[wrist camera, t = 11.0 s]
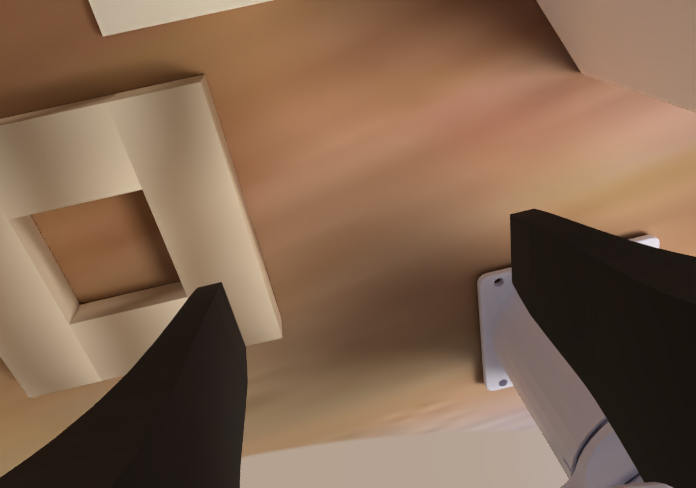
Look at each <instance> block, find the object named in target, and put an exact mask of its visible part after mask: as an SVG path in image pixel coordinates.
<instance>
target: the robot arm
mask: <svg viewBox="0 0 696 488" xmlns="http://www.w3.org/2000/svg"><path fill="white" fill-rule="evenodd" d="M510 228H511V267H510V268H506V269H502V270H497V271H493V272H489V273H485V274H483V275H482V276H480V277H479V279H478V282H477V288H478V303H479V318H480V333H481V348H482V363H483V378H484V385H485V387H486V388H487V389H488V390H490V391H495V390H499V389H503V388H507V387H511V386H514V387H515V389H516V391H517V392H518V394H519V396H520V397H521V399H522V401H523V402H524V404H525V406H526V407H527V409H528V411H529V412H530V414H531V416H532V417H533V419H534V421H535V422H536V424H537V426H538V427H539V429H540V431H541V432H542V434H543V436H544V437H545V439H546V440H547V442H548V444H549V446H550V447H551V449H552V451H553V453H554V454H555V456H556V457H557V459H558V461H559V463H560V464H561V466H562V468H563V469H564V471H565V473H566V474H567V476H568V478H569V480H568V481H567V483H565V484H564V485H563V486H562V487H561V488H696V257H694V256H689V255H685V254H680V253H675V252H671V251H667V250H663V249H659V240H658V238H656V237H655V236H653V235H644V236H640V237H636V238H632V239H628V240H627V239H624V238H621V237H618V236H615V235H612V234H609V233H606V232H603V231H600V230H597V229H594V228H591V227H588V226H585V225H583V224H580V223H577V222H574V221H571V220H569V219H566V218H563V217H560V216H557V215H554V214H551V213H548V212H545V211H541V210H537V209H531V210H527V211H523V212H518V213H514V214H510ZM498 278H501V279H500V281H499V282H497V283H494V281H495V280H496V279H498ZM501 380H502V381H501ZM247 383H248V381H247V360H246V346H245V343H244V340H243V338H242V335H241V332H240V330H239V327H238V324H237V322H236V319H235V316H234V314H233V311H232V308H231V305H230V303H229V300H228V297H227V295H226V292H225V289H224V287H223V284H222V282H219V283H215V284H211V285H206V286H202V287H198V288H196V289H195V291H194V292H193V293H192V294H191V295H190V297H189V298H188V299H187V301H186V302H185V303H184V305H183V306H182V307H181V309H180V310H179V311H178V313H177V314H176V315H175V317H174V318H173V319H172V320H171V322H170V323H169V324H168V326H167V327H166V328H165V329H164V331H163V332H162V333H161V335H160V336H159V337H158V338H157V340H156V341H155V342H154V343H153V344H152V345H151V347H150V348H149V349H148V350H147V351H146V352H145V353H144V355H143V356H142V357H141V358H140V359H139V360H138V362H137V363H136V364H135V365H134V366H133V367H132V368H131V370H130V371H129V372H128V373H127V374H126V375H125V376H124V377H123V378H122V379H121V380H120V381H119V382H118V383H117V384H116V385H115V386H114V387H113V388H112V389H111V390H110V391H109V392H108V393H107V394H106V395H105V396H104V397H103V398H102V399H101V400H99V401H98V402H97V403H96V404H95V405H94V406H93V407H92V408H91V409H89V410H88V411H87V412H86V413H85V414H83V415H82V416H81V417H80V418H79V419H77V420H76V421H75V422H74V423H73V424H71V425H70V426H69V427H68V428H67V429H65V430H64V431H63V432H62V433H61V434H60V435H58V436H57V437H56V438H55V439H53V440H52V441H51V442H49V443H48V444H47V445H45V446H44V447H43V448H41V449H40V450H39V451H37V452H36V453H35V454H33V455H32V456H31V457H29V458H28V459H26V460H25V461H23V462H22V463H21V464H19V465H18V466H16V467H15V468H14V469H12V470H11V471H9V472H8V473H6V474H5V475H3V476H2V477H0V488H240V464H241V453H242V442H243V431H244V420H245V408H246V396H247Z"/></svg>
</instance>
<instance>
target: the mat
mask: <svg viewBox="0 0 696 488" xmlns="http://www.w3.org/2000/svg"><path fill="white" fill-rule="evenodd" d="M267 1H272V0H89V3H90V5H91V8H92V11H93V13H94V16H95V18H96V21H97V23H98V26H99V28H100V31H101V33H102V36H103V37H104V36H108V35H113V34H118V33H122V32H127V31H132V30H136V29H141V28H146V27H150V26H155V25H160V24H164V23H169V22H174V21H178V20H183V19H188V18H192V17H197V16H202V15H207V14H211V13H216V12H221V11H225V10H230V9H235V8H239V7H244V6H249V5H253V4H258V3H263V2H267Z"/></svg>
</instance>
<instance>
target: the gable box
mask: <svg viewBox="0 0 696 488" xmlns="http://www.w3.org/2000/svg"><path fill="white" fill-rule="evenodd" d="M536 1H537V3H538V4H539V6H540V8H541V9H542V11H543V12H544V14H545V16H546V17H547V19H548V20H549V22H550V24H551V25H552V27H553V28H554V30H555V32H556V33H557V35H558V36H559V38H560V40H561V41H562V43H563V44H564V46H565V48H566V49H567V51H568V52H569V54H570V56H571V57H572V59H573V60H574V62H575V64H576V65H577V67H578V68H579V70H580V72H581V73H582V74H583V75H586V76H589V77H592V78H595V79H598V80H601V81H604V82H607V83H610V84H613V85H616V86H619V87H622V88H625V89H628V90H631V91H634V92H637V93H640V94H642V95H645V96H648V97H651V98H654V99H657V100H660V101H663V102H666V103H669V104H672V105H675V106H678V107H681V108H684V109H687V110H690V111H693V112H696V0H536Z"/></svg>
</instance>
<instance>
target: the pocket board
mask: <svg viewBox="0 0 696 488" xmlns="http://www.w3.org/2000/svg"><path fill="white" fill-rule="evenodd" d="M138 190H143V192H144V195H145V197H146V199H147V202H148V204H149V207H150V209H151V211H152V214H153V216H154V218H155V221H156V223H157V226H158V228H159V230H160V233H161V235H162V238H163V240H164V242H165V245H166V247H167V249H168V252H169V254H170V257H171V259H172V261H173V264H174V266H175V269H176V271H177V273H178V276H179V278H180V280H181V281H180V282H175V283H171V284H167V285H163V286H158V287H154V288H150V289H145V290H141V291H137V292H132V293H128V294H124V295H120V296H115V297H111V298H107V299H102V300H98V301H94V302H90V303H85V304H81V305H80V304H79V302H78V300H77V298H76V296H75V295H74V293H73V291H72V289H71V287H70V286H69V284H68V282H67V280H66V278H65V277H64V275H63V273H62V271H61V269H60V268H59V266H58V264H57V262H56V260H55V259H54V257H53V255H52V253H51V251H50V250H49V248H48V246H47V244H46V242H45V241H44V239H43V237H42V235H41V233H40V232H39V230H38V228H37V226H36V224H35V223H34V221H33V219H32V217H31V214H36V213H40V212H45V211H49V210H54V209H58V208H62V207H67V206H71V205H76V204H80V203H85V202H89V201H93V200H98V199H102V198H107V197H111V196H116V195H120V194H124V193H129V192H133V191H138ZM219 282H222V284H223V287H224V289H225V292H226V295H227V297H228V300H229V303H230V305H231V308H232V311H233V314H234V316H235V319H236V322H237V324H238V327H239V330H240V332H241V335H242V338H243V340H244V343H245V346H251V345H255V344H259V343H263V342H267V341H272V340H276V339H280V338H282V320H281V316H280V313H279V309H278V306H277V303H276V300H275V297H274V294H273V290H272V287H271V284H270V281H269V278H268V274H267V271H266V268H265V265H264V262H263V258H262V255H261V252H260V249H259V246H258V242H257V239H256V236H255V233H254V230H253V227H252V223H251V220H250V217H249V214H248V211H247V207H246V204H245V201H244V198H243V195H242V191H241V188H240V185H239V182H238V179H237V175H236V172H235V169H234V166H233V163H232V160H231V156H230V153H229V150H228V147H227V144H226V140H225V137H224V134H223V131H222V128H221V124H220V121H219V118H218V115H217V112H216V108H215V105H214V102H213V99H212V96H211V93H210V89H209V86H208V83H207V80H206V77H205V74H203V75H199V76H194V77H190V78H185V79H180V80H176V81H171V82H167V83H162V84H157V85H153V86H148V87H144V88H139V89H134V90H130V91H125V92H121V93H116V94H112V95H107V96H102V97H98V98H93V99H89V100H84V101H79V102H75V103H70V104H66V105H61V106H57V107H52V108H47V109H43V110H38V111H34V112H29V113H24V114H20V115H15V116H11V117H6V118H1V119H0V357H1V358H2V360H3V361H4V363H5V364H6V366H7V367H8V369H9V370H10V371H11V373H12V374H13V376H14V377H15V379H16V380H17V381H18V383H19V384H20V386H21V387H22V389H23V390H24V392H25V393H26V394H27V396H28V397H29V398H33V397H37V396H42V395H46V394H50V393H54V392H58V391H63V390H67V389H71V388H75V387H79V386H83V385H88V384H92V383H96V382H100V381H104V380H109V379H113V378H117V377H121V376H125V375H126V374H127V373H128V372H129V371H130V370H131V368H132V367H133V366H134V365H135V364H136V363H137V362H138V360H139V359H140V358H141V357H142V356H143V355H144V353H145V352H146V351H147V350H148V349H149V348H150V347H151V345H152V344H153V343H154V342H155V341H156V340H157V338H158V337H159V336H160V335H161V333H162V332H163V331H164V329H165V328H166V327H167V326H168V324H169V323H170V322H171V320H172V319H173V318H174V317H175V315H176V314H177V313H178V311H179V310H180V309H181V307H182V306H183V305H184V303H185V302H186V301H187V299H188V298H189V297H190V295H191V294H192V293H193V292H194V291H195V289H196V288H198V287H202V286H206V285H211V284H215V283H219Z"/></svg>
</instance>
